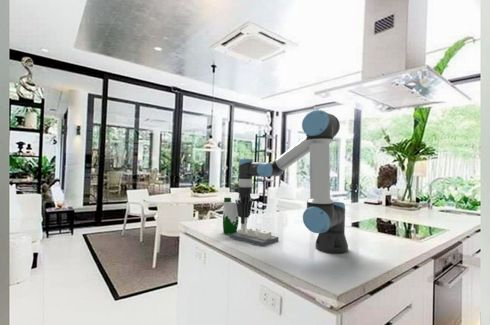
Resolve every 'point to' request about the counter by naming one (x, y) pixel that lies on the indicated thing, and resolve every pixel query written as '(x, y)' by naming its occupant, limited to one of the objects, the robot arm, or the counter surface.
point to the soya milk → (230, 216)
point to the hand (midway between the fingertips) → (243, 229)
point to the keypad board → (253, 239)
